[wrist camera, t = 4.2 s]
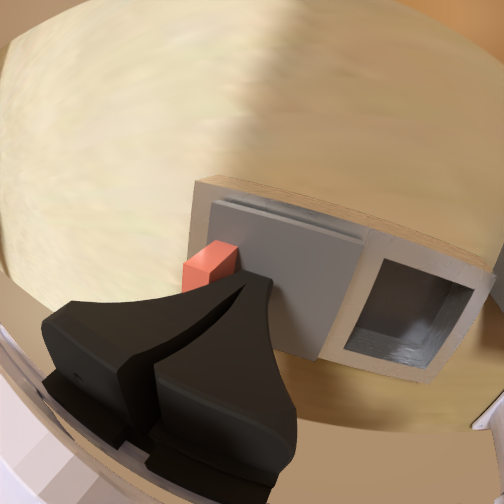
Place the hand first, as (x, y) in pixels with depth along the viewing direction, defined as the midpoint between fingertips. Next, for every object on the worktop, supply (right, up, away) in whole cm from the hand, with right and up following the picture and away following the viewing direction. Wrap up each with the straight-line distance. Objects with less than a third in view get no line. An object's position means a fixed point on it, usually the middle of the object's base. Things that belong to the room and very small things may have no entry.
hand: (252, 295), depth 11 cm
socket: (+4, 0, +3) cm, 5 cm away
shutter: (+1, 0, +1) cm, 1 cm away
